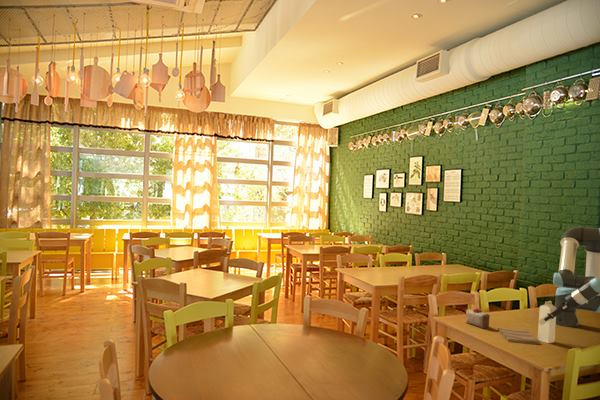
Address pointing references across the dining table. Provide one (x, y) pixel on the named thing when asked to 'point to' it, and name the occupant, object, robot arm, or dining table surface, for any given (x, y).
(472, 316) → the food item
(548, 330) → the milk
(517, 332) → the tan board
